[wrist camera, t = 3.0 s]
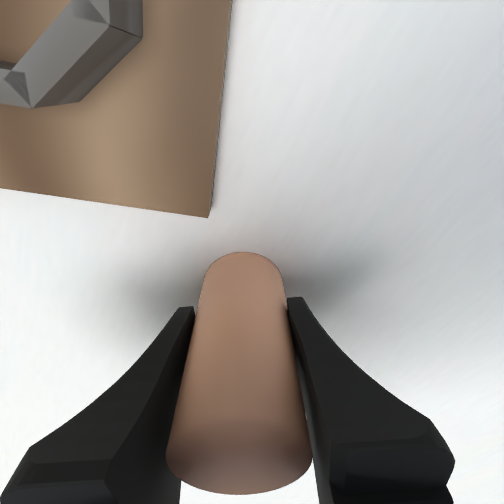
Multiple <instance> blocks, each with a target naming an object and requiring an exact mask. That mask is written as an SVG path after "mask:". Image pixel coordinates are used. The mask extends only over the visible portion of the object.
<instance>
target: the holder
mask: <svg viewBox="0 0 504 504" xmlns="http://www.w3.org/2000/svg"><path fill="white" fill-rule="evenodd" d="M231 8H232V0H0V188H3V189H10V190H17V191H24V192H31V193H38V194H45V195H52V196H59V197H66V198H73V199H79V200H86V201H93V202H100V203H107V204H114V205H121V206H128V207H135V208H142V209H149V210H156V211H163V212H170V213H177V214H184V215H190V216H197V217H204V218H208V216H209V213H210V209H211V204H212V194H213V184H214V174H215V165H216V155H217V145H218V135H219V126H220V116H221V106H222V96H223V87H224V77H225V67H226V57H227V47H228V38H229V28H230V18H231Z"/></svg>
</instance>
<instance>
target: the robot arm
mask: <svg viewBox="0 0 504 504" xmlns="http://www.w3.org/2000/svg"><path fill="white" fill-rule="evenodd" d="M287 311H288V316H289V322H290V328H291V333H292V338H293V344H294V350H295V356H296V361H297V367H298V373H299V379H300V384H301V390H302V396H303V402H304V407H305V412H306V418H307V424H308V430H309V436H310V442H311V448H312V455H313V463H314V470H315V477H316V483H317V490H318V497H319V504H453V503H454V502H453V499H452V496H451V494H450V492H449V490H448V488H447V486H446V484H447V482H448V480H449V478H450V476H451V473H452V471H453V469H454V465H455V459H454V457H453V454H452V452H451V451H450V449H449V447H448V445H447V443H446V442H445V440H444V439H443V437H442V436H441V434H440V433H439V431H438V430H437V428H436V427H435V426H434V424H433V423H432V421H431V420H430V419H429V418H427V417H426V416H424V415H422V414H421V413H419V412H418V411H416V410H415V409H413V408H412V407H410V406H408V405H407V404H405V403H404V402H402V401H401V400H399V399H398V398H397V397H395V396H394V395H393V394H391V393H390V392H388V391H387V390H386V389H385V388H383V387H382V386H381V385H380V384H378V383H377V382H376V381H375V380H374V379H372V378H371V377H370V376H369V375H367V374H366V373H365V372H364V371H363V370H362V369H361V368H359V367H358V366H357V365H356V364H355V363H354V362H353V361H352V360H351V359H350V358H349V357H348V356H347V355H346V354H345V353H344V352H343V351H342V350H341V349H340V348H339V347H338V345H337V344H336V343H335V342H334V341H333V340H332V339H331V337H330V336H329V335H328V334H327V333H326V331H325V330H324V329H323V327H322V326H321V325H320V324H319V322H318V321H317V319H316V318H315V317H314V315H313V314H312V312H311V311H310V309H309V308H308V306H307V304H306V302H305V300H304V299H303V298H302V297H293V298H287ZM195 317H196V316H195V312H194V308H193V306H190V307H179V308H178V309H177V311H176V312H175V313H174V315H173V316H172V317H171V319H170V320H169V322H168V323H167V324H166V326H165V327H164V328H163V330H162V331H161V332H160V333H159V335H158V336H157V337H156V339H155V340H154V341H153V342H152V344H151V345H150V346H149V347H148V348H147V350H146V351H145V352H144V353H143V354H142V355H141V357H140V358H139V359H138V360H137V361H136V362H135V363H134V364H133V365H132V367H131V368H130V369H129V370H128V371H127V372H126V373H125V374H124V375H123V376H122V377H121V378H120V379H119V380H118V381H117V382H115V383H114V384H113V385H112V386H111V387H110V388H109V389H107V390H106V391H105V392H104V393H103V394H102V395H101V396H99V397H98V398H97V399H96V400H95V401H94V402H92V403H91V404H90V405H89V406H87V407H86V408H85V409H84V410H82V411H81V412H80V413H78V414H77V415H76V416H74V417H73V418H72V419H70V420H69V421H68V422H66V423H65V424H63V425H62V426H61V427H59V428H58V429H56V430H55V431H53V432H52V433H50V434H49V435H47V436H46V437H44V438H43V439H41V440H40V441H38V442H37V443H35V444H34V445H32V446H31V447H29V449H28V451H27V452H26V454H25V455H24V457H23V459H22V460H21V462H20V463H19V465H18V467H17V469H16V470H15V472H14V474H13V475H12V477H11V479H10V480H9V482H8V484H7V486H6V487H5V489H4V491H3V492H2V494H1V497H0V503H1V504H179V501H180V489H181V480H180V479H179V478H178V477H177V476H175V475H174V474H173V473H172V471H171V470H170V469H169V467H168V465H167V462H166V450H167V445H168V441H169V436H170V432H171V427H172V422H173V418H174V413H175V409H176V404H177V400H178V395H179V390H180V386H181V381H182V377H183V372H184V368H185V363H186V358H187V354H188V349H189V345H190V340H191V336H192V331H193V326H194V322H195Z"/></svg>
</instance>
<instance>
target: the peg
mask: <svg viewBox="0 0 504 504" xmlns="http://www.w3.org/2000/svg"><path fill="white" fill-rule="evenodd" d="M312 457H313V455H312V448H311V442H310V436H309V430H308V425H307V419H306V413H305V407H304V402H303V396H302V390H301V384H300V379H299V373H298V367H297V361H296V356H295V350H294V344H293V338H292V333H291V328H290V322H289V316H288V311H287V304H286V298H285V292H284V286H283V281H282V277H281V274H280V272H279V270H278V269H277V267H276V266H275V265H274V264H273V263H272V262H271V261H270V260H268V259H267V258H265V257H263V256H261V255H258V254H255V253H249V252H237V253H231V254H228V255H225V256H223V257H221V258H219V259H218V260H216V261H215V262H214V263H213V264H212V265H211V266H210V267H209V268H208V270H207V272H206V274H205V277H204V281H203V285H202V290H201V294H200V299H199V304H198V308H197V313H196V317H195V322H194V326H193V331H192V336H191V340H190V345H189V349H188V354H187V358H186V363H185V368H184V372H183V377H182V381H181V386H180V390H179V395H178V400H177V404H176V409H175V413H174V418H173V422H172V427H171V432H170V436H169V441H168V445H167V450H166V462H167V465H168V467H169V469H170V470H171V471H172V473H173V474H174V475H175V476H177V477H178V478H179V479H180V480H182V481H183V482H185V483H187V484H189V485H191V486H193V487H196V488H199V489H202V490H205V491H209V492H214V493H220V494H230V495H247V494H257V493H263V492H268V491H272V490H276V489H279V488H281V487H284V486H287V485H289V484H291V483H293V482H294V481H296V480H297V479H299V478H300V477H301V476H302V475H304V473H305V472H306V471H307V470H308V468H309V467H310V465H311V462H312Z"/></svg>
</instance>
